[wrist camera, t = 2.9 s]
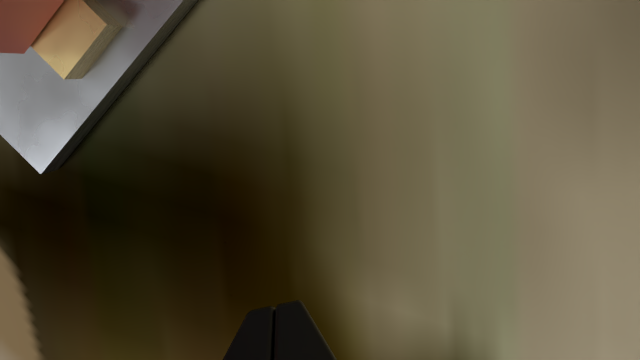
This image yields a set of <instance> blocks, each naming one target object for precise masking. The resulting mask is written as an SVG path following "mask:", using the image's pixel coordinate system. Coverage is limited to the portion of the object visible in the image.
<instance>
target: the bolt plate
mask: <svg viewBox="0 0 640 360" xmlns="http://www.w3.org/2000/svg"><path fill="white" fill-rule="evenodd" d="M197 1H198V0H64V1H63V3H62V4H61V5H60V7H59V8H58V9H57V11H56V12H55V13H54V15H53V16H52V17H51V19H50V20H49V21H48V23H47V24H46V25H45V27H44V28H43V29H42V31H41V32H40V33H39V35H38V36H37V37H36V39H35V40H34V41H33V43H32V44H31V45H30V47H29V48H28V49H27V51H26V52H25V53H24V54H16V53H0V135H1V136H2V137H3V138H4V139H5V140H6V141H7V142H8V143H9V144H10V145H12V146H13V147H14V148H15V149H16V150H17V151H18V152H19V153H20V154H21V155H22V156H23V157H24V158H25V159H26V160H27V161H28V162H29V163H30V164H31V165H32V166H33V167H34V168H35V169H36V170H37V171H38V172H39V173H40V174H44V173H48V172H51V171H55V170H58V169H59V168H60V166H61V165H62V164H63V163H64V162H65V160H66V159H67V158H68V157H69V156H70V154H71V153H72V152H73V151H74V150H75V148H76V147H77V146H78V145H79V143H80V142H81V141H82V140H83V139H84V137H85V136H86V135H87V134H88V133H89V131H90V130H91V129H92V128H93V127H94V125H95V124H96V123H97V122H98V120H99V119H100V118H101V117H102V116H103V114H104V113H105V112H106V111H107V110H108V108H109V107H110V106H111V105H112V104H113V102H114V101H115V100H116V99H117V98H118V96H119V95H120V94H121V93H122V91H123V90H124V89H125V88H126V87H127V85H128V84H129V83H130V82H131V81H132V79H133V78H134V77H135V76H136V75H137V73H138V72H139V71H140V70H141V69H142V67H143V66H144V65H145V64H146V62H147V61H148V60H149V59H150V58H151V56H152V55H153V54H154V53H155V52H156V50H157V49H158V48H159V47H160V46H161V44H162V43H163V42H164V41H165V39H166V38H167V37H168V36H169V35H170V33H171V32H172V31H173V30H174V29H175V27H176V26H177V25H178V24H179V23H180V21H181V20H182V19H183V18H184V17H185V15H186V14H187V13H188V12H189V10H190V9H191V8H192V7H193V6H194V4H195V3H196V2H197Z"/></svg>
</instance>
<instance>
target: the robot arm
mask: <svg viewBox="0 0 640 360" xmlns="http://www.w3.org/2000/svg"><path fill="white" fill-rule="evenodd" d="M223 360H336V358H335V356H334V355H333V353H332V351H331V350H330V348H329V346H328V345H327V343H326V341H325V340H324V338H323V336H322V334H321V333H320V331H319V329H318V328H317V326H316V324H315V323H314V321H313V319H312V318H311V316H310V314H309V312H308V311H307V309H306V307H305V306H304V304H303V303H302V302H301V301H300V300H296V301H292V302H287V303H283V304H279V305H278V306H277V307H276V308H275V307H272V306H269V307H264V308H260V309H255V310H251V311H250V312H249V313H248V314H247V315H246V317H245V319H244V321H243V323H242V325H241V327H240V328H239V330H238V332H237V334H236V336H235V338H234V340H233V341H232V343H231V345H230V347H229V349H228V351H227V353H226V355H225V356H224V358H223Z"/></svg>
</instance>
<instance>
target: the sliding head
mask: <svg viewBox="0 0 640 360" xmlns="http://www.w3.org/2000/svg"><path fill="white" fill-rule="evenodd" d="M63 1H64V0H0V53H16V54H24V53H25V52H26V51H27V49H28V48H29V47H30V45H31V44H32V43H33V41H34V40H35V39H36V37H37V36H38V35H39V33H40V32H41V31H42V29H43V28H44V27H45V25H46V24H47V23H48V21H49V20H50V19H51V17H52V16H53V15H54V13H55V12H56V11H57V9H58V8H59V7H60V5H61V4H62V3H63Z"/></svg>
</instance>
